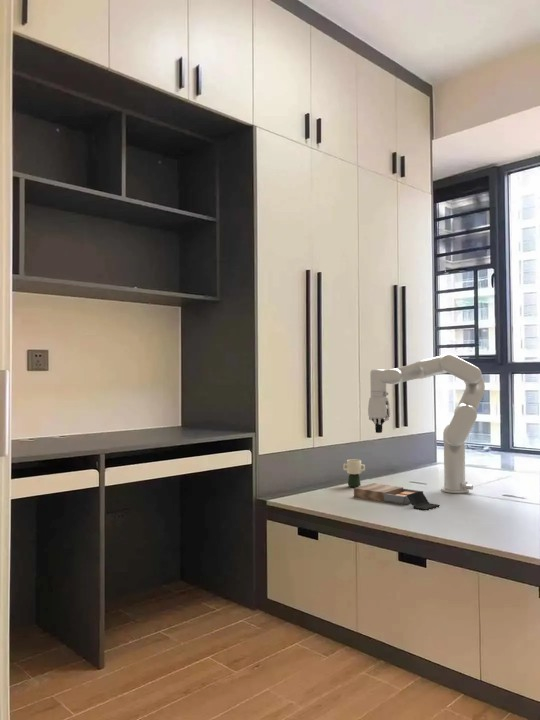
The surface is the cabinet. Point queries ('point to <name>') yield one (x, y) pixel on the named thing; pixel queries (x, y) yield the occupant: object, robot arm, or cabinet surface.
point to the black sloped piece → (420, 501)
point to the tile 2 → (406, 493)
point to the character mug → (354, 472)
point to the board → (376, 491)
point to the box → (399, 497)
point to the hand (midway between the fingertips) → (378, 432)
